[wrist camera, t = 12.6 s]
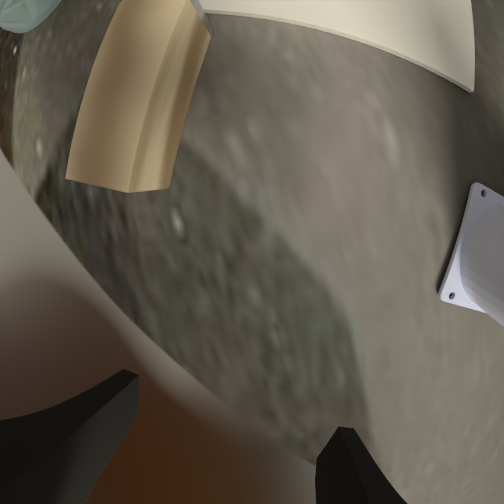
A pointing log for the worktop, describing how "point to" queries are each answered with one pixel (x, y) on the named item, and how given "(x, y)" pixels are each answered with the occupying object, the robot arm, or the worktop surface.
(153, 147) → the tan wooden block
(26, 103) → the worktop surface
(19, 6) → the teal cup
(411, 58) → the mat
